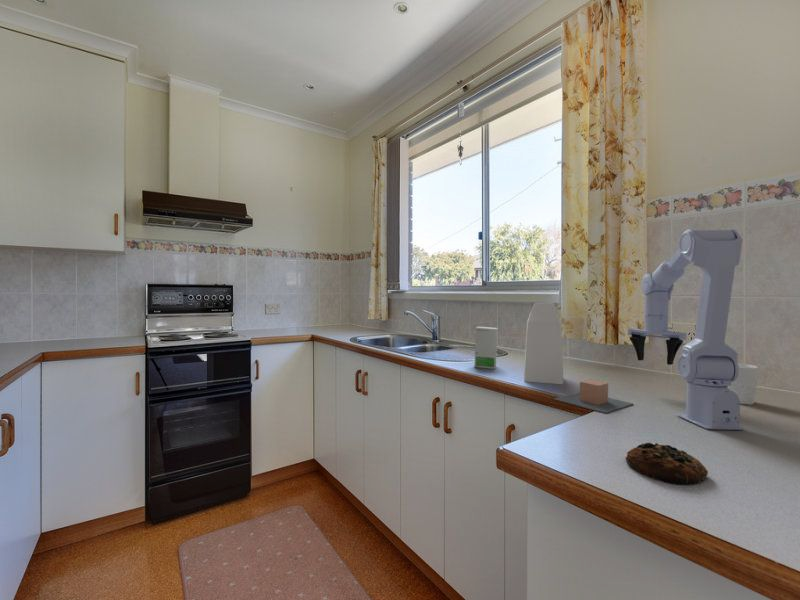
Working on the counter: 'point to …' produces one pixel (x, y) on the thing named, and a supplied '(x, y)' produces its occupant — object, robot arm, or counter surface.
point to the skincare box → (486, 347)
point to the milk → (543, 345)
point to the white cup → (745, 383)
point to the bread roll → (666, 464)
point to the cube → (594, 391)
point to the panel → (603, 408)
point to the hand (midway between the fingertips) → (654, 362)
